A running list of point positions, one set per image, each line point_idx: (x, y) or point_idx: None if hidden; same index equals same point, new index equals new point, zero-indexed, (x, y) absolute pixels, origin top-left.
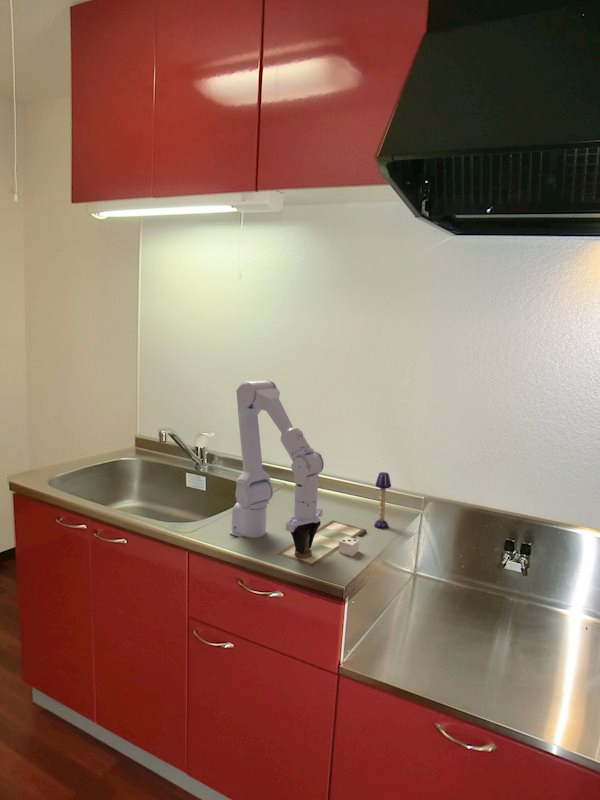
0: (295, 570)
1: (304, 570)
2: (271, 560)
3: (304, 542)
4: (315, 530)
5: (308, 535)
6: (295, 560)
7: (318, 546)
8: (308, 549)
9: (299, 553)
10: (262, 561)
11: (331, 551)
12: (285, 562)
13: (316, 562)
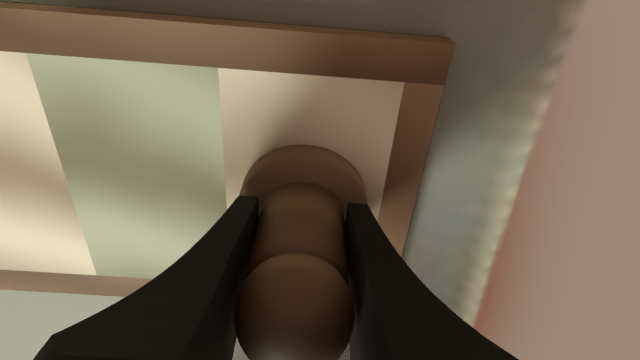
0: (511, 143)
1: (487, 92)
2: (438, 296)
3: (394, 262)
4: (178, 301)
5: (295, 299)
6: (415, 200)
7: (103, 172)
8: (290, 194)
9: None
10: (470, 319)
11: (87, 44)
12: (426, 236)
13: (368, 60)
